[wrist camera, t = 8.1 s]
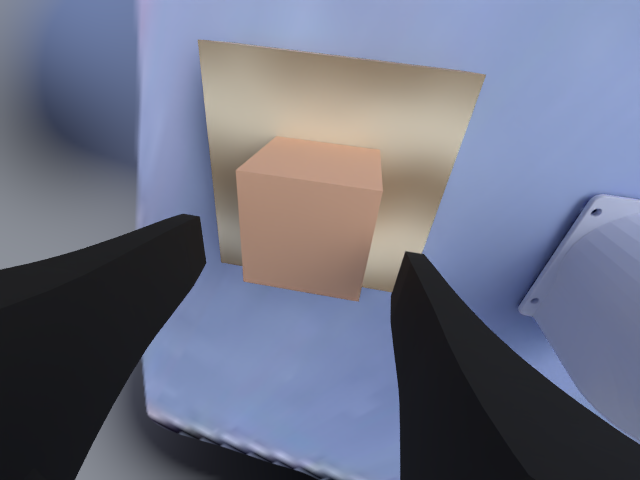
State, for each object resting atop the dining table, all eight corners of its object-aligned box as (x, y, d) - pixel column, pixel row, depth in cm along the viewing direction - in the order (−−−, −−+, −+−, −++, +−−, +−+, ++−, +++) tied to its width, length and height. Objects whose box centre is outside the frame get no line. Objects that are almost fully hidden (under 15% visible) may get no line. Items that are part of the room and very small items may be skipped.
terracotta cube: (362, 238, 16) (358, 301, 12) (275, 225, 17) (243, 281, 13) (380, 149, 14) (383, 191, 10) (276, 136, 14) (235, 169, 10)
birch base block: (401, 257, 22) (406, 294, 18) (243, 231, 22) (221, 262, 19) (460, 70, 15) (486, 74, 12) (234, 42, 16) (197, 39, 12)
